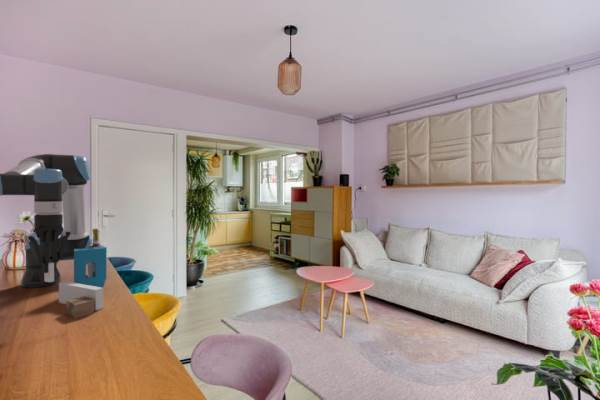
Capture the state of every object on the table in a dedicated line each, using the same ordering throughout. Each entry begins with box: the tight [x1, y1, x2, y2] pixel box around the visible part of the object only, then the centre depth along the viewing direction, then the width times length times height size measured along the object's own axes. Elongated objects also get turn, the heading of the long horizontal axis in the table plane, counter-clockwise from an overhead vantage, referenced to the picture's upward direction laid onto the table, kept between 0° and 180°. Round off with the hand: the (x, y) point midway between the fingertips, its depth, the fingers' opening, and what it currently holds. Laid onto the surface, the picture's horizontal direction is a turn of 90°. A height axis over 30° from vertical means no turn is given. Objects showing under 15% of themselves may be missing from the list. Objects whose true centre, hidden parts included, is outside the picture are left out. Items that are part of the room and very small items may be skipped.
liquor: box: [87, 228, 105, 277], centre depth 145 cm, size 7×7×28 cm
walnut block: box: [65, 296, 95, 319], centre depth 114 cm, size 8×6×5 cm
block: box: [73, 246, 108, 289], centre depth 137 cm, size 12×5×20 cm, turn 126°
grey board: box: [58, 280, 104, 312], centre depth 122 cm, size 22×3×8 cm, turn 68°
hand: (49, 281), depth 106 cm, fingers closed
